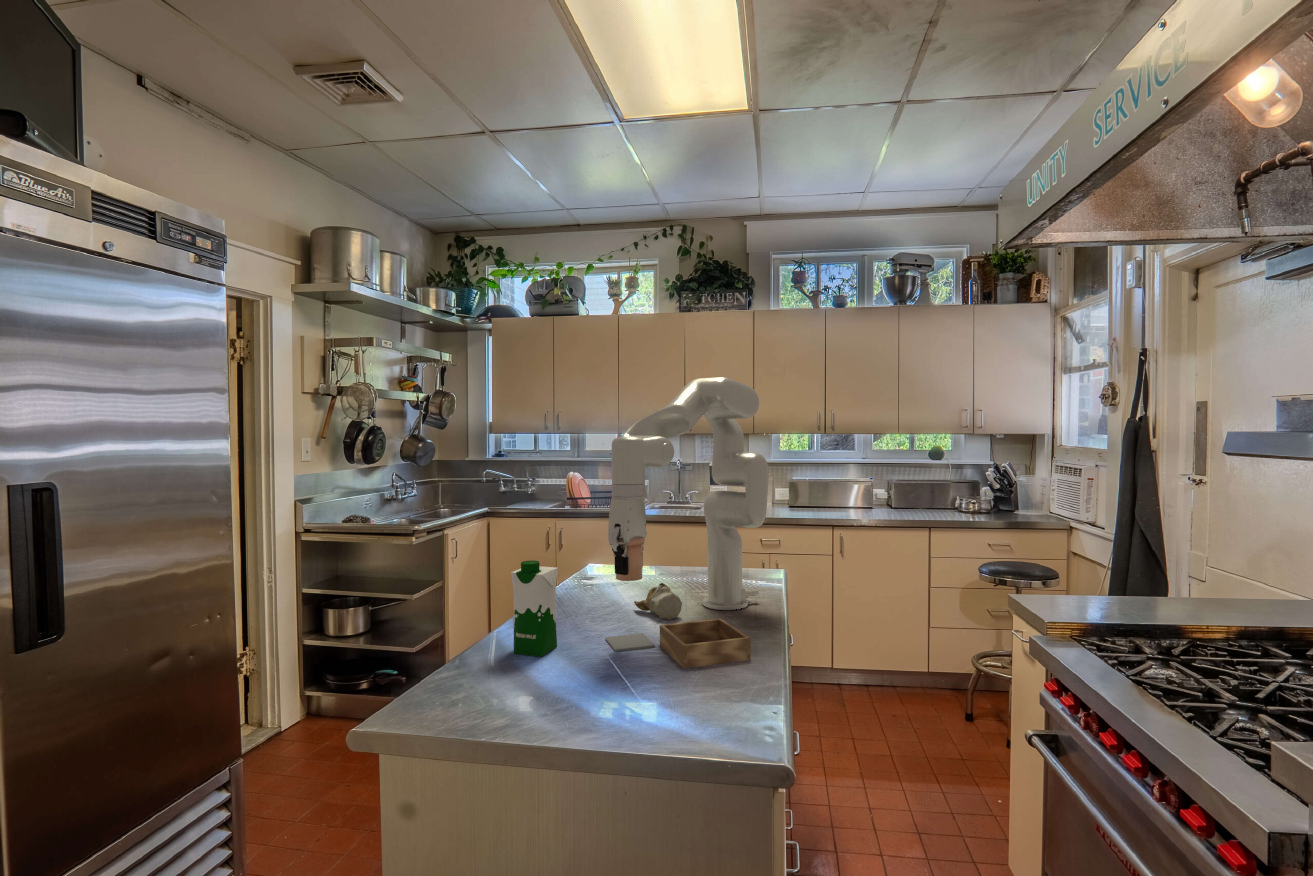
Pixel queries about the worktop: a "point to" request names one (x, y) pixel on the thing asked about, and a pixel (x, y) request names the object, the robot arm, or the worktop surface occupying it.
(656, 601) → the ceramic sculpture
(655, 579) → the worktop surface
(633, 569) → the terracotta pot
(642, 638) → the slate tile
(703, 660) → the open wooden box
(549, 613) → the milk carton
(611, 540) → the robot arm
